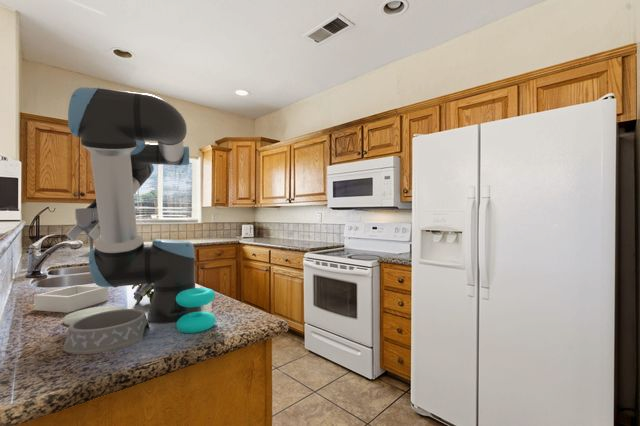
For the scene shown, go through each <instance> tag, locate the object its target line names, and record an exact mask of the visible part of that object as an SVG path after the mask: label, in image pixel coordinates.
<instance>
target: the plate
mask: <svg viewBox="0 0 640 426" xmlns="http://www.w3.org/2000/svg"><path fill="white" fill-rule="evenodd" d="M120 309H125V308H124V307H123V306H120V305H104V306H95V307H88V308H82V309H78V310H75V311H72V312H69V313H68V314H66V315H65V316H64V317H63V318H62V319H63V321H62V322H63V324H64V325H66V326H70V325H71V324H72V323H73V322H75V321H77V320H79V319H81V318H84V317H87V316H90V315H93V314H97V313H101V312H106V311H112V310H120Z"/></svg>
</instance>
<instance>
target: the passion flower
mask: <svg viewBox="0 0 640 426" xmlns="http://www.w3.org/2000/svg"><path fill="white" fill-rule="evenodd" d="M137 286H138V287H137ZM135 287H137V288H136V290H135V291H134V292H133V295H134V296H133V299H134V300H135V301H136V302H135V304H134V306H139V304H141V303H140V302H141V301H142V300H143V299H144V297H145V296H147V298H148V299H149V304H150V303H151V300H152V296H153V293H154V283H150V284H139V285H132V286H131V289H132V290H133V289H135ZM152 290H153V291H152Z"/></svg>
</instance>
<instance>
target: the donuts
mask: <svg viewBox="0 0 640 426" xmlns="http://www.w3.org/2000/svg"><path fill="white" fill-rule="evenodd" d="M215 297H216V293H215V291H214V290H213V289H211V288H208V287H199V288H198V287H197V288H196V287H195V288H194V289H188V290H184V291H182V292H180V293H179V294H178V295H177V296H176V302H177V303H178V304H179V305H181V306H184V307H199V306H202V307H203V306H206V305H208V304H210V303H212V302H213V300H214V299H215ZM215 324H216V316H215V315H214V314H213V313H211V312H209V311H203V310H202V311H199V312H192V313H188V314H186V315H184V316H182V317H181V318H180V319H179V320H178V321H177V322H176V324H175V325H176V326H175V327H176V329H177V331H180V332H182V333H186V334H193V333H194V334H195V333H202V332H205V331H207V330H209V329H211V328H212V327H213V326H214V325H215Z"/></svg>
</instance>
